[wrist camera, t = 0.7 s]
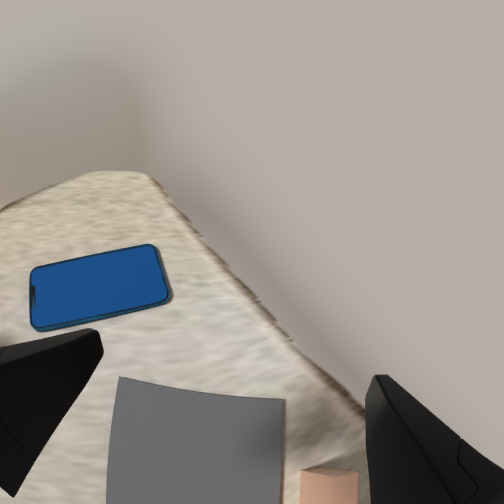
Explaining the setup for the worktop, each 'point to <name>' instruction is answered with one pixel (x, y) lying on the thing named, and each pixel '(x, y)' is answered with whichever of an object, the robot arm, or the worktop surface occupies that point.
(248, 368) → the worktop surface
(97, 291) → the smartphone
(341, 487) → the block
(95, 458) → the worktop surface
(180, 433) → the mat
